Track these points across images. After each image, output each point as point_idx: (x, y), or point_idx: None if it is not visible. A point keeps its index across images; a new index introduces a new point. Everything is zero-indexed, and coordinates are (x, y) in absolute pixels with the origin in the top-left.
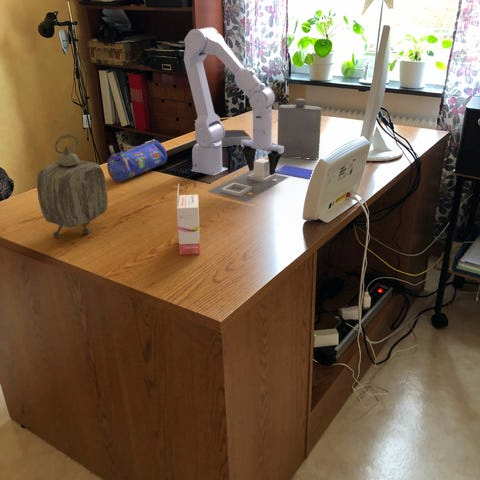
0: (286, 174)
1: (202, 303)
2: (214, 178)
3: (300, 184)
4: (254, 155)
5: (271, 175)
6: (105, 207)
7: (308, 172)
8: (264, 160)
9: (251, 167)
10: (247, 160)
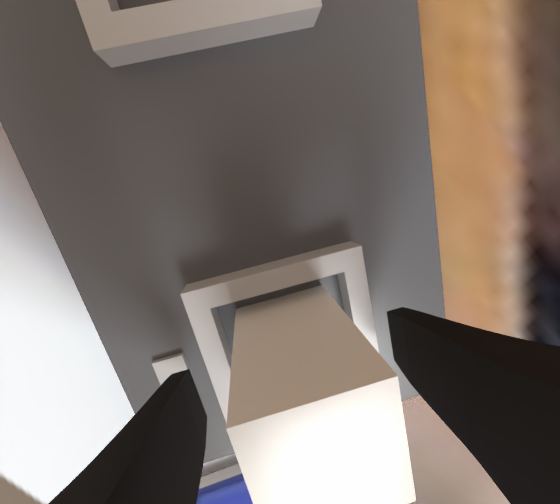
0: (208, 490)
1: None
2: (554, 77)
3: (17, 459)
4: (518, 500)
5: (223, 392)
6: None
7: None
8: (314, 500)
9: (404, 336)
10: (499, 344)
